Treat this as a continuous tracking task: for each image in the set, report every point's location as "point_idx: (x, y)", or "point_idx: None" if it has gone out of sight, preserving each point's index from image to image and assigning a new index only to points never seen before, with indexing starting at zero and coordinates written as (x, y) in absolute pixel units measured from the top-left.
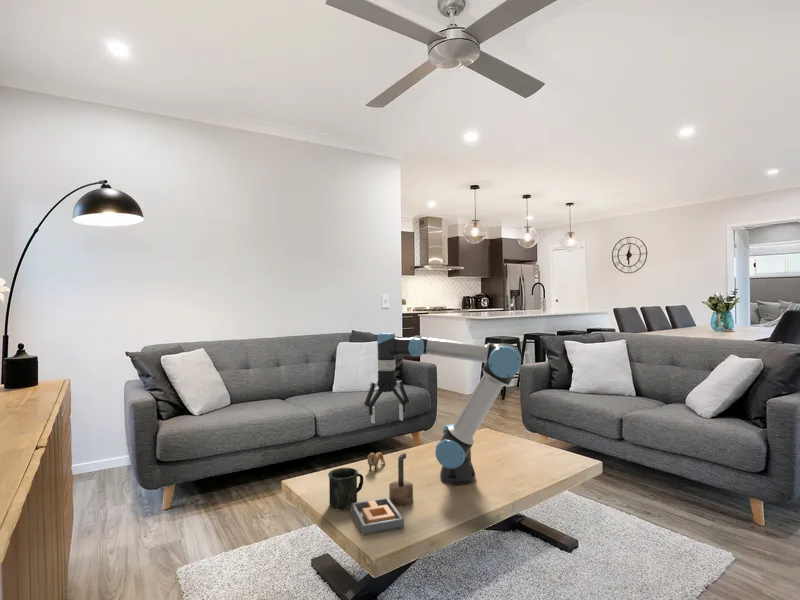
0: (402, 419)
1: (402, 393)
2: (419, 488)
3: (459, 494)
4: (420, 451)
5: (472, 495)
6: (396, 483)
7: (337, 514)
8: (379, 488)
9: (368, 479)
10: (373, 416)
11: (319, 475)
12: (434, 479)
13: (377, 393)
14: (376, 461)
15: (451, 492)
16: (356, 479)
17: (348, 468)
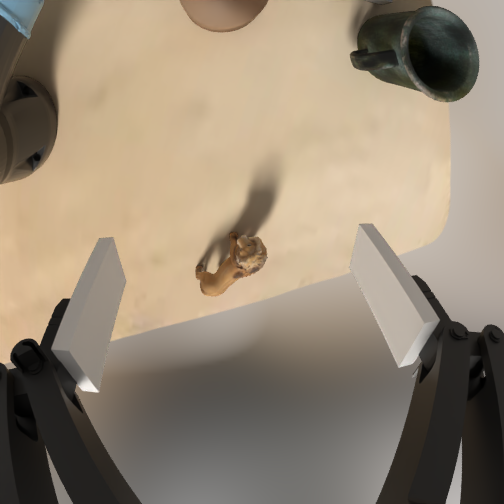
0: (101, 243)
1: (35, 487)
2: (134, 70)
3: (43, 18)
4: None
5: None
6: (236, 4)
7: None
8: (261, 106)
9: (272, 184)
10: (393, 258)
11: None
12: (72, 131)
13: (439, 492)
14: (232, 252)
15: (56, 31)
16: (398, 24)
17: (420, 83)
